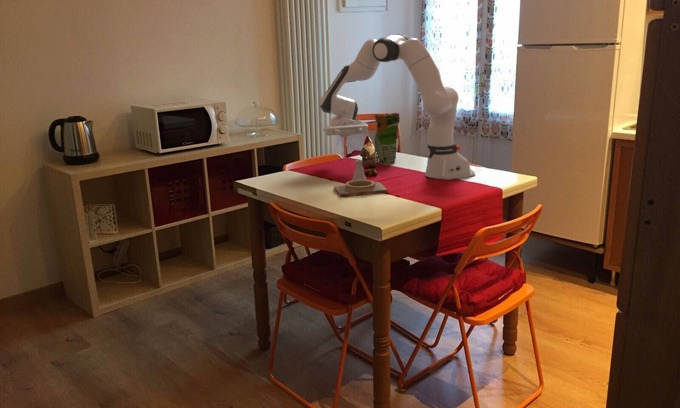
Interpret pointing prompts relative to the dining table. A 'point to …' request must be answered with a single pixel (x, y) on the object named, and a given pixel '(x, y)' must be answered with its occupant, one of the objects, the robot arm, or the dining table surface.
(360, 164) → the flask
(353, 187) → the collar holder
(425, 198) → the dining table surface
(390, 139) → the pouch
